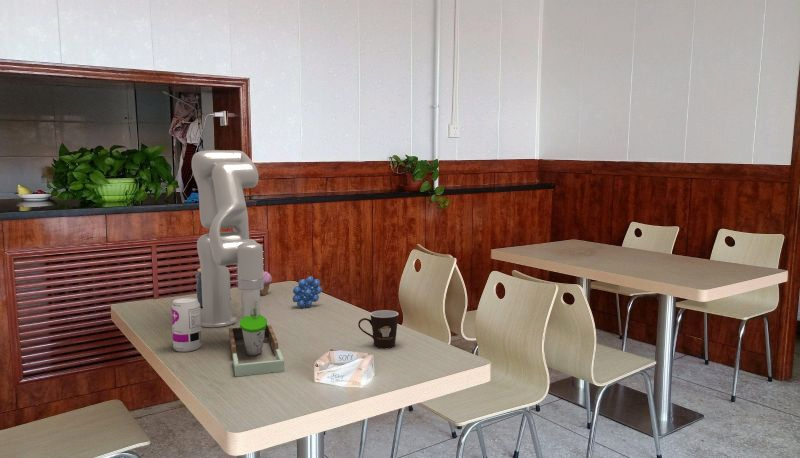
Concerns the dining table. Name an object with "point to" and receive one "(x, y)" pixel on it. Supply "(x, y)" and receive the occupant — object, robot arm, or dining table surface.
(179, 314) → the supplement can
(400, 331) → the dining table surface
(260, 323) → the cup
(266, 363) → the bay
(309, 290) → the grapes
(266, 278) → the cupcake
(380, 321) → the coffee mug
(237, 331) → the brown wooden tray
